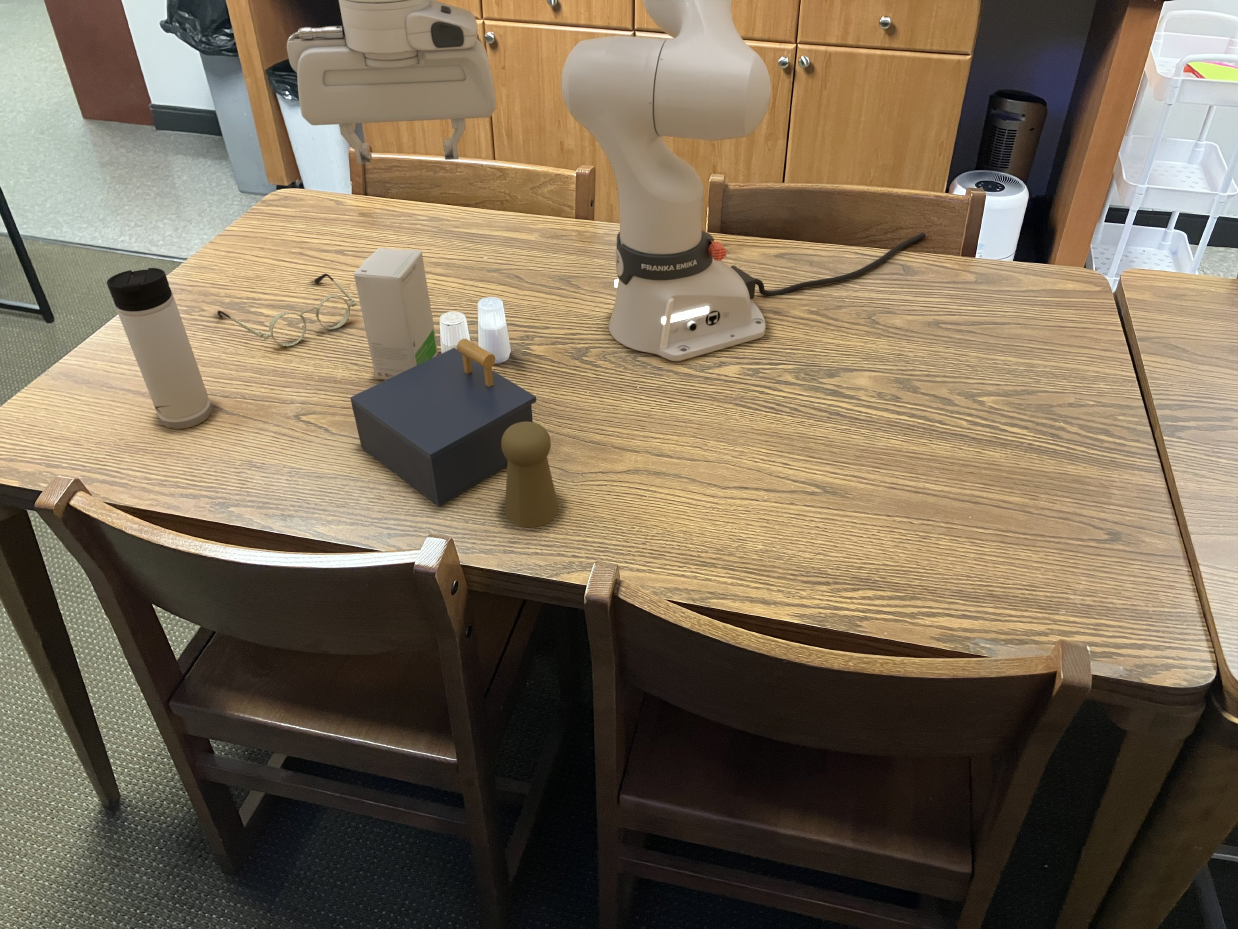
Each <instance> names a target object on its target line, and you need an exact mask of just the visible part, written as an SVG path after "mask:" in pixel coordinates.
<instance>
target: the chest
mask: <svg viewBox="0 0 1238 929" xmlns="http://www.w3.org/2000/svg"><path fill="white" fill-rule="evenodd" d="M532 406H533V404H532V405H530V406H528V407H526V408H524V409H523V410H521V411H519V412H517V413H515V414H514V415H512V416H510V417H508V418H506V419H505V420H503V421H501V422H499V423H497V424H496V425H494V426H492V427H490V428H488V429H487V430H485V431H483V432H481V433H479V434H478V435H476V436H474V437H472V438H470V439H469V440H467V441H465V442H463V443H461V444H459V445H458V446H456V447H454V448H452V449H450V450H449V451H447V452H445V453H443V454H441V455H440V456H438V457H436V458H434V459H432V460H430V459H429V458H428V457H426V456H425V455H424V454H422V453H421V452H419V451H418V450H417V449H415V448H414V447H412V446H411V445H410V444H408V443H407V442H405V441H404V440H403V439H401V438H400V437H398V436H397V435H396V434H394V433H393V432H391V431H390V430H389V429H387V428H386V427H384V426H383V425H382V424H380V423H379V422H378V421H376V420H375V419H373V418H372V417H371V416H369V415H368V414H366V413H365V412H364V411H362V410H361V409H359V408H358V407H357V406H355V405H354V404H352V403H351V408H352V412H353V416H354V421H355V425H356V429H357V434H358V438H359V443H360V447H361V449H362V450H363V451H365V452H366V453H367V454H368V455H370V456H371V457H373V459H375V460H377V461H378V462H379V463H380V464H382V465H383V466H384V467H386V468H387V469H388V470H390V471H391V472H392V473H393V474H395V475H396V476H397V477H399V478H400V479H402V480H403V481H404V482H406V483H407V484H408V485H410V486H411V487H412V488H413V489H414V490H416V491H417V492H419V493H420V494H421V495H422V496H424V497H425V498H427V499H428V500H429V501H431V502H432V503H433V504H435V505H436V506H437V507H438V508H440V507H442V506H443V505H445V504H447V503H449V502H450V501H453V499H455V498H457V497H459V496H460V495H462V494H463V493H465V492H467V491H468V490H470V489H473V487H476V486H477V485H478V484H480V483H482V482H483V481H485V480H487V479H489V478H490V477H492V476H494V475H495V474H497V473H499V472H500V471H502V470H504V469H506V468H507V465H508V460H507V459H506V457H505V455H504V454H503V451H502V446H501V440H502V436H503V434H504V432H505V431H506V429H508V428H509V427H510V426H511V425H513V424H516V423H519V422H534V421H533V418H534V417H533V410H532V409H533V408H532Z"/></svg>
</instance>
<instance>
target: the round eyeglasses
mask: <svg viewBox="0 0 1238 929" xmlns="http://www.w3.org/2000/svg"><path fill="white" fill-rule="evenodd" d="M326 277H327V278H328V279H329V280H331V281H332V283H334V284H335V286H336V287H337V288H338V289H339V291H340V292H341V293H342V294H343V295H344V296H345V297H346V298H347V299H348V301H347V300H346V299H345V298H344V297H343V296H341V295H339V294H335V293H332V294H329V295H327V296H325V298H324V299H322V300H321V301H320V302H319V304H318V306H317V307H311V308H309V309H305V310H302V312H300V314H299V313H297V312H295V311H281V312H279V313H277V314H276V315H274V316H273V318H271V320H270V322H269V324H268V331H270V333H269V334H268V333H267V332H264V333H262V332H261V331H260V330H259V331H257V330H255V329H253V328H252V327H250V326H248V325H247V324H244V323H243V322H242V321H239V320H238V319H236V318H235V317H233V316H230V315H228V314H227V313H225V312H224V311H222V310H217V315H218V317H220V318H222V317H223V316H225V317H226V318H228V319H230V321H232V322H234V323H236V324H237V325H239V326H240V327H242V328H243V329H245V330H246V331H248V332H250V333H251V334H253V335H254V336H256V337H258V338H260V339H263V340H264V341H265V340H269V338H271V339H272V340H273V341H274V342H275V343H276V344H277V347H292V346H295V345H297V344H298V343H300V342H301V341H302V340H303V339H304V337H305V335H306V332H307V323H306V322H307V321H306V318H305V316H303V315H304V314H305V313H308V312H311V311H315V318H316V320H317V322H318V323H319V325H320V326H321V327H323V328H325V329H327V330H336V329H340V328H341V327H342V326H344V325H345V324H346V323H347V322H348V321H349V319H350V314H351V307H352V308H353V307H356V306H357V305H358V304H357V302H356V301H355V300H354V298H353V297H352V296H351V295H350V294H349V293H347V291H346V290H345V289H344V288H343V287H342V286H341V285H340V284H339V283H338V282H337V281H336V280H335V278H333V277H332V276H331V275H330V274H328V273H324V274H321V275H319V276H318V277H316V278H315V279H314V283H315V284H319V283H320V282H321V281H322V280H324V279H325V278H326ZM334 298H338V299H342V301H343V302H344V303H345V304H346V306H347V307H345V309H344V310H345V311H344V315H343V317H342V318H341V320H340V321H339V322H338V323H337V324H336V325H334V326H331V327H329V326H326V325H324V324H322V322H321V321H322V320H321V319H320V314H319V313H320V310H321V307H322V306H323V305H324V303H325V302H327V301H328V300H330V299H334ZM286 315H296V316H298V317H300V319H301V320H302V323H303V325H301V329H303V331H302V333H301V335H300V337H299V338H298V339H297V340H295V341H292V342H289V343H287V342H285V343H284V342H279V341H277V340H276V339H275V337H274V327H275V325H276V323H277V321H278V320H279V319H280V318H282V317H284V316H286Z"/></svg>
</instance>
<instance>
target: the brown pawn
mask: <svg viewBox="0 0 1238 929" xmlns="http://www.w3.org/2000/svg"><path fill="white" fill-rule="evenodd" d="M501 446H502V451H503V454H504V455H505V457H506V459H507V460H508V465H507V467H506V481H505V500H504V515H505V517H506V518H507V520H508V521H509V522H510V523H512V524H513V525H516V526H518V527H521V528H522V527H524V528H537V527H540V526H544V525H546V524H548V523H550V522H552V521H553V520H554V519H555V518H556V516H557V515H558V512H559V502H558V498H557V494H556V493H557V492H556V489H555V485H554V481H553V477H552V473H551V469H550V464H549V460H548V456H549V454H550V450H551V447H552V443H551V436H550V433H549V432H548V431H547V429H546V428H545V427H544V426H542V424H540V423H537V422H534V421H533V422H519V423H516V424H513V425H511V426H510V427H509V428H508V429H506V431H505V432H504V434H503V436H502V440H501Z"/></svg>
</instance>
